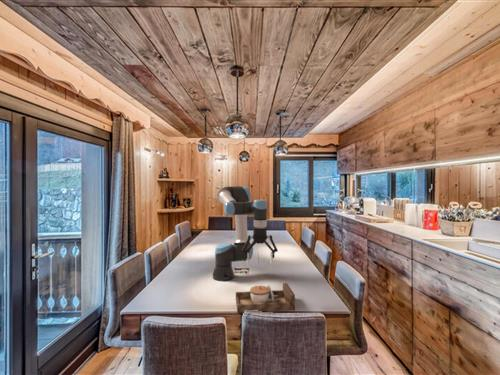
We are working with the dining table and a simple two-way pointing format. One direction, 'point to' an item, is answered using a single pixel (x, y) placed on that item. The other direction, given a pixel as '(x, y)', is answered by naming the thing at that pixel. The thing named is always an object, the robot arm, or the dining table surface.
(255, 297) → the lidded jar
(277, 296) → the pusher
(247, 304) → the wooden tray
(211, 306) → the dining table surface
